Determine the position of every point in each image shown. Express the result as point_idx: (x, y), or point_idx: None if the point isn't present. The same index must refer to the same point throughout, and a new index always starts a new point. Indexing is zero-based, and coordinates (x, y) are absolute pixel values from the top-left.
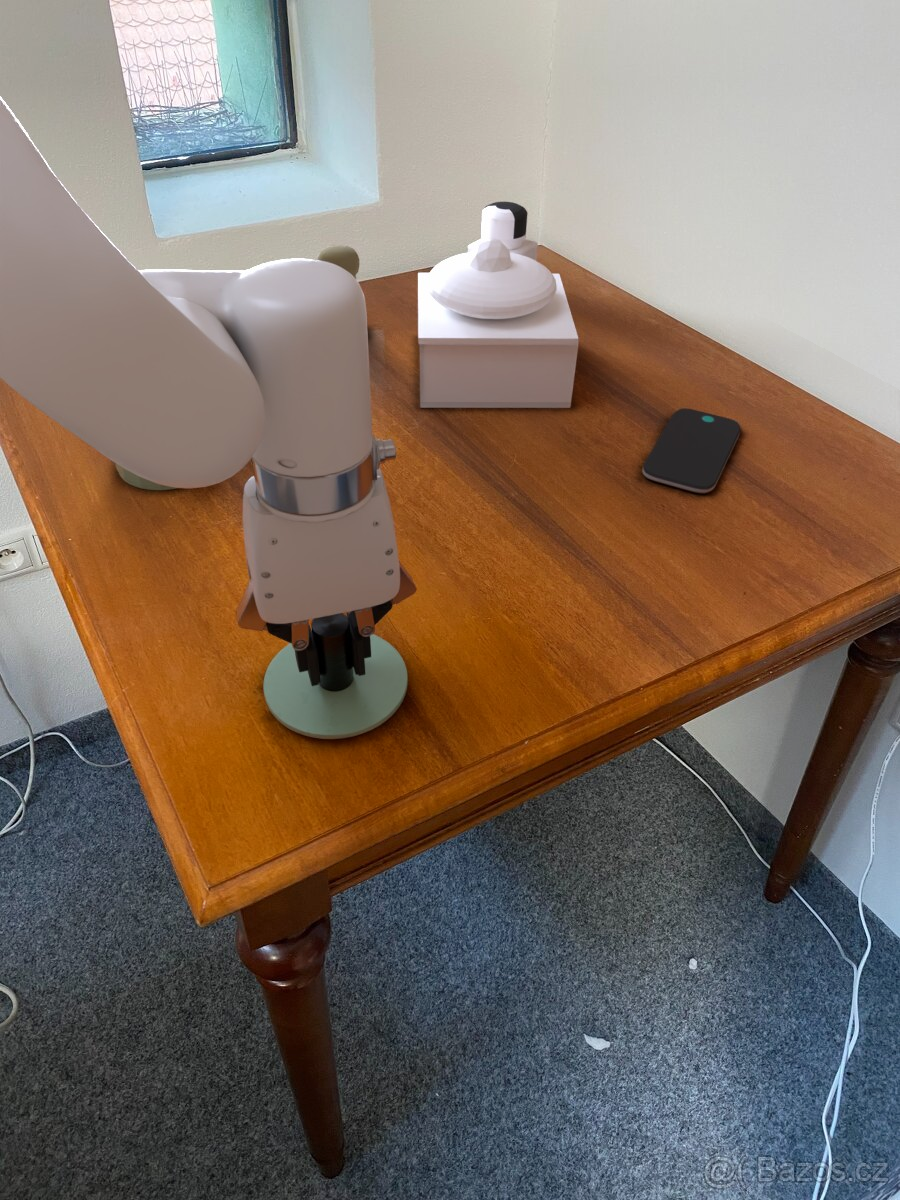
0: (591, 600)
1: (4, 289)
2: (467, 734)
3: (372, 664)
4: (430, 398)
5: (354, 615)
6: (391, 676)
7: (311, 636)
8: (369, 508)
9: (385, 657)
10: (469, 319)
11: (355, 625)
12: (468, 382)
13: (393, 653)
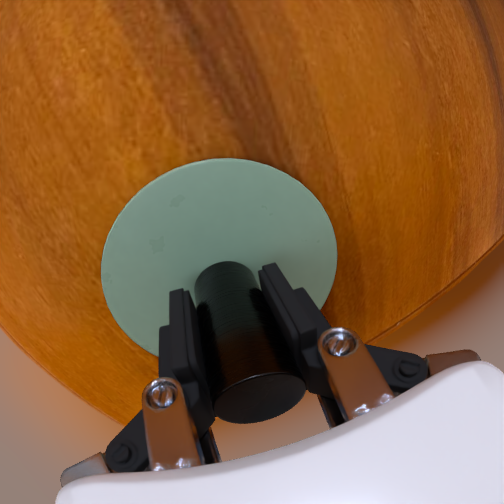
0: (495, 155)
1: None
2: (361, 325)
3: (289, 258)
4: None
5: (323, 380)
6: (313, 281)
7: (207, 392)
8: None
9: (312, 242)
10: None
11: (316, 391)
12: None
13: (326, 233)
